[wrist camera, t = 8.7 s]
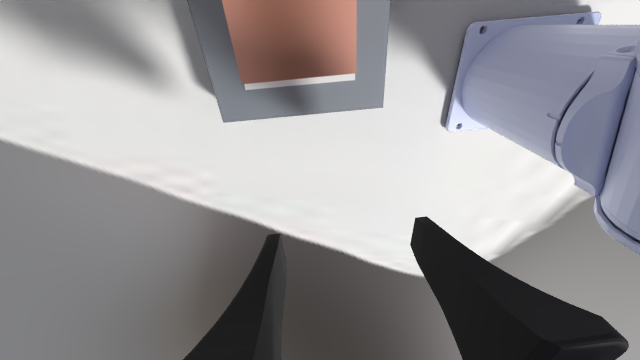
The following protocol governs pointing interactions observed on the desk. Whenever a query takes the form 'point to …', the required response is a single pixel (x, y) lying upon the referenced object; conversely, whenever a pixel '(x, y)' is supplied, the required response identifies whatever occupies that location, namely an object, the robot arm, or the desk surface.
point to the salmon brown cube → (292, 38)
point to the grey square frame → (295, 93)
